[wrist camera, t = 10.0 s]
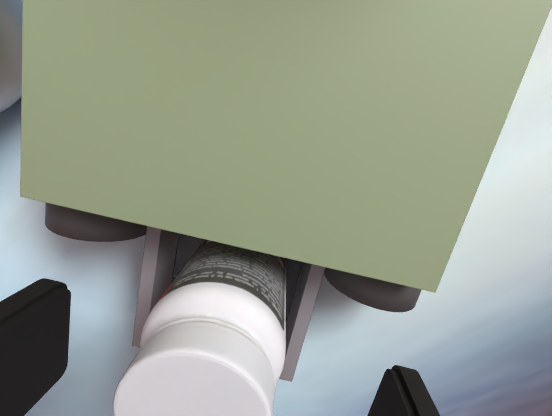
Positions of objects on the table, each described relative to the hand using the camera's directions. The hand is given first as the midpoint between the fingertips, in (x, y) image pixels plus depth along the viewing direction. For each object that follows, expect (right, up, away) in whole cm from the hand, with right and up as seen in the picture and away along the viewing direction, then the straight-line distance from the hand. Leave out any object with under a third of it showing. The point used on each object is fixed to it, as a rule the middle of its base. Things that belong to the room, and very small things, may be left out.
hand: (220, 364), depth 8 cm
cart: (+1, +7, +6) cm, 9 cm away
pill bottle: (0, +1, +7) cm, 7 cm away
